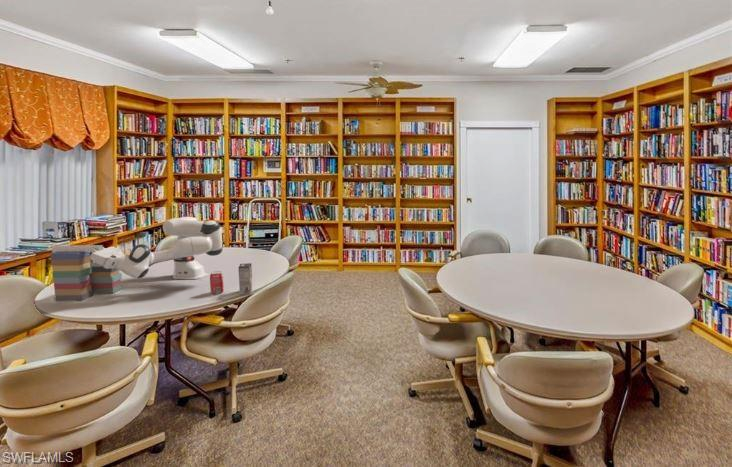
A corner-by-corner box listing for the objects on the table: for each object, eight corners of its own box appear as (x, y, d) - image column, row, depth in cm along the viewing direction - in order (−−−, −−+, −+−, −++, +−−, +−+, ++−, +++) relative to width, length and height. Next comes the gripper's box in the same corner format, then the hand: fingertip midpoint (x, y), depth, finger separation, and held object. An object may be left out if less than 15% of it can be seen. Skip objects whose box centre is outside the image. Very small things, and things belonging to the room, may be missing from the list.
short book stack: (122, 288, 240) (120, 262, 237) (113, 293, 230) (111, 266, 227) (94, 289, 238) (91, 262, 236) (84, 294, 229) (81, 266, 226)
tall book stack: (94, 295, 227) (89, 249, 223) (83, 300, 217) (78, 253, 213) (67, 295, 226) (62, 249, 222) (55, 301, 216) (50, 253, 212)
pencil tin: (103, 250, 221) (102, 245, 220) (99, 251, 217) (99, 246, 217) (56, 251, 219) (56, 245, 218) (52, 252, 215) (51, 246, 215)
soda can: (218, 290, 238) (217, 270, 236) (226, 292, 234) (225, 272, 232) (208, 293, 232) (207, 272, 230) (215, 295, 228) (214, 274, 226)
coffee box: (241, 290, 238) (240, 263, 236) (252, 289, 240) (251, 263, 237) (239, 294, 229) (238, 267, 227) (251, 294, 231) (250, 266, 228)
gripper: (129, 251, 230) (106, 239, 228) (109, 259, 210) (83, 246, 208) (124, 260, 231) (101, 249, 229) (104, 269, 211) (78, 256, 209)
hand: (92, 247), depth 218 cm, fingers closed on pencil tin, 3 cm apart
